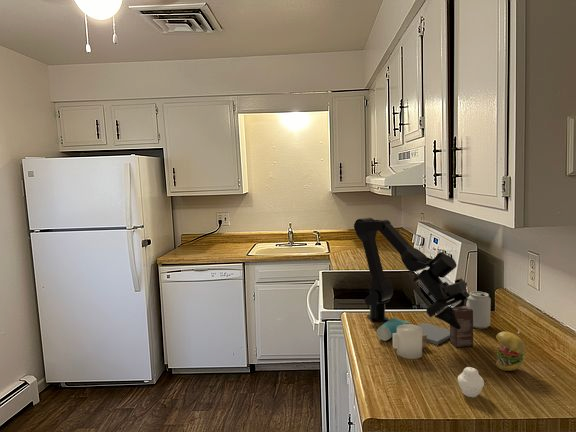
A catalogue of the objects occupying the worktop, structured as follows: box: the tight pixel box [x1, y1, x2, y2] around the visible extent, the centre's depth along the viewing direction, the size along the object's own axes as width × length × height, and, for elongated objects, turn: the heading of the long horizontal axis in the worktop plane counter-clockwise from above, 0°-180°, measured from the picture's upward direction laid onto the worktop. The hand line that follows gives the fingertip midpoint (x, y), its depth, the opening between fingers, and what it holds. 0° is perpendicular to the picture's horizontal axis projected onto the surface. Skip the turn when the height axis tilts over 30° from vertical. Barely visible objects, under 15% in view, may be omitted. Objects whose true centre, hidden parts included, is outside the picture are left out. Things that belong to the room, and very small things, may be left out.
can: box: [467, 290, 492, 330], centre depth 149 cm, size 8×8×12 cm
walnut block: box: [422, 333, 428, 349], centre depth 133 cm, size 4×4×4 cm
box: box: [449, 305, 474, 348], centre depth 133 cm, size 6×4×12 cm
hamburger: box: [495, 329, 526, 372], centre depth 116 cm, size 8×7×12 cm
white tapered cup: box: [392, 323, 423, 360], centre depth 127 cm, size 9×8×8 cm
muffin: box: [457, 366, 485, 398], centre depth 104 cm, size 6×6×7 cm
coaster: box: [417, 322, 450, 346], centre depth 142 cm, size 12×12×1 cm
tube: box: [376, 317, 411, 342], centre depth 145 cm, size 7×5×19 cm
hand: (465, 325), depth 132 cm, fingers closed on box, 7 cm apart
